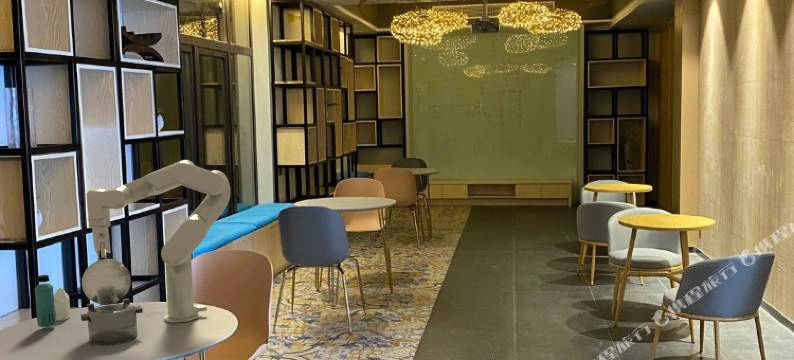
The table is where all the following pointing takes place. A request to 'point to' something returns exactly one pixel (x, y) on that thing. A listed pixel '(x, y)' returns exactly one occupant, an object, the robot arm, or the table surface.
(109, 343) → the cooker pot
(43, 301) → the beverage bottle
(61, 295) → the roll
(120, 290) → the cooker lid
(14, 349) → the table surface
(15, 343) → the table surface
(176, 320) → the robot arm
